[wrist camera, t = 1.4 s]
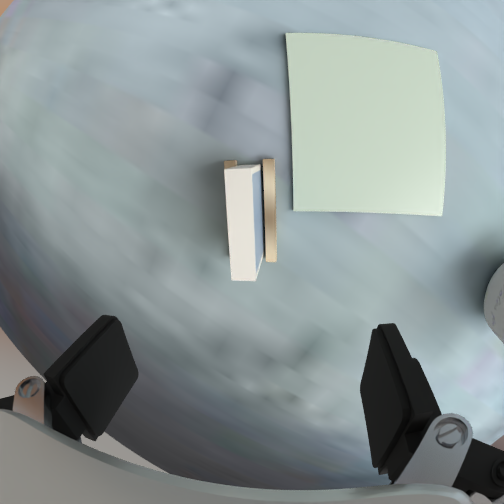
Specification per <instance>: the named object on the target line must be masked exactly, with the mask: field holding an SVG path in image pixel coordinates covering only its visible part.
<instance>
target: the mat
mask: <svg viewBox="0 0 504 504" xmlns="http://www.w3.org/2000/svg"><path fill="white" fill-rule="evenodd" d="M286 44H287V57H288V71H289V87H290V106H291V128H292V157H293V211H327V212H367V213H393V214H413V215H430V216H442V212H443V201H444V188H445V166H446V135H445V113H444V100H443V90H442V82H441V74H440V67H439V61H438V55H437V51H433V50H430V49H426V48H422V47H417V46H413V45H409V44H404V43H399V42H394V41H388V40H382V39H375V38H368V37H360V36H351V35H339V34H322V33H286Z"/></svg>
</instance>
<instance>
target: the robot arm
mask: <svg viewBox="0 0 504 504" xmlns="http://www.w3.org/2000/svg"><path fill="white" fill-rule="evenodd" d="M44 376H45V378H46V379H47V382H46V383H45V382H44V381H43V379H42V378H40V377H38V376H30V377H27V378H25V379H23V380H22V381H21V382H20V383H19V384H18V385H17V387H16V390H15V395H13V396H10V397H5V398H2V399H0V504H504V451H502V450H500V449H497V448H495V447H492V446H490V445H488V444H485V443H483V442H480V441H478V440H476V439H473V438H472V435H473V431H472V427H471V425H470V423H469V422H468V421H467V420H466V419H465V418H464V417H462V416H460V415H458V414H453V413H449V414H443V415H442V414H441V411H440V409H439V406H438V404H437V402H436V399H435V397H434V394H433V392H432V390H431V388H430V385H429V383H428V381H427V379H426V376H425V374H424V372H423V370H422V368H421V365H420V363H419V362H418V360H417V359H416V358H412V357H411V355H410V353H409V351H408V349H407V347H406V345H405V342H404V340H403V338H402V336H401V334H400V332H399V330H398V328H397V326H396V325H395V324H394V323H391V324H379V325H378V327H377V329H373V330H372V335H371V340H370V345H369V350H368V354H367V359H366V363H365V368H364V372H363V376H362V380H361V384H360V393H361V398H362V404H363V409H364V414H365V420H366V426H367V432H368V438H369V444H370V451H371V458H372V465H373V467H374V468H377V467H378V472H379V475H381V474H387V473H388V476H389V479H390V480H391V482H390V484H389V485H382V486H372V487H360V488H349V489H335V490H270V489H256V488H245V487H236V486H229V485H222V484H215V483H209V482H204V481H198V480H193V479H189V478H184V477H180V476H175V475H171V474H167V473H164V472H160V471H156V470H153V469H149V468H146V467H143V466H140V465H136V464H133V463H130V462H127V461H125V460H122V459H119V458H116V457H114V456H111V455H108V454H106V453H103V452H100V451H98V450H96V449H94V448H91V447H89V446H87V445H84V444H82V442H81V437H80V436H81V435H82V434H83V435H84V436H85V437H86V438H88V439H91V440H93V441H96V439H97V438H98V436H100V435H102V434H103V432H104V431H105V429H106V428H107V426H108V424H109V423H110V421H111V419H112V418H113V416H114V415H115V413H116V411H117V410H118V408H119V407H120V405H121V404H122V402H123V400H124V399H125V397H126V396H127V394H128V393H129V391H130V389H131V388H132V386H133V385H134V383H135V382H136V380H137V378H138V369H137V367H136V364H135V361H134V359H133V356H132V353H131V351H130V348H129V345H128V342H127V339H126V336H125V333H124V330H123V327H122V324H121V322H120V321H119V320H118V319H117V317H115V316H109V315H102V316H101V317H100V318H99V319H98V320H96V321H95V322H94V323H93V324H92V325H91V326H90V327H89V328H88V329H87V330H86V331H85V332H84V333H83V334H82V335H81V336H80V337H79V338H78V339H77V340H76V341H75V342H74V343H73V344H72V345H71V346H70V347H69V348H68V349H67V350H66V351H65V352H64V353H63V354H62V355H61V356H60V357H59V358H58V359H57V360H56V361H55V362H54V364H53V365H52V366H51V367H50V368H49V369H48V370H47V371H46V372H45V373H44Z"/></svg>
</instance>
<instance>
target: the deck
mask: <svg viewBox="0 0 504 504" xmlns="http://www.w3.org/2000/svg"><path fill="white" fill-rule="evenodd" d="M224 174H225V191H226V208H227V223H228V238H229V252H230V265H231V278H232V280H236V281H256V278H257V275H258V272H259V268H260V265H261V262H262V259H263V255H264V236H263V205H262V177H261V164H255V165H239V166H235V167H231V168H227V169H224Z"/></svg>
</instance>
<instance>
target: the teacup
mask: <svg viewBox="0 0 504 504" xmlns="http://www.w3.org/2000/svg"><path fill="white" fill-rule="evenodd" d="M484 315H485V319H486V321H487V323H488V325H489V327H490V328H491V329H492V331H493V332H494V333H495V334H496V335H497V336H498V338H499V339H500V340H501V341H502V342H503V343H504V263H503V264H502V265H501V266H500V267H499V268H498V269H497V270H496V272H495V273H494V274H493V276H492V278H491V280H490V282H489V284H488V287H487V290H486V294H485V299H484Z"/></svg>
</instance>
